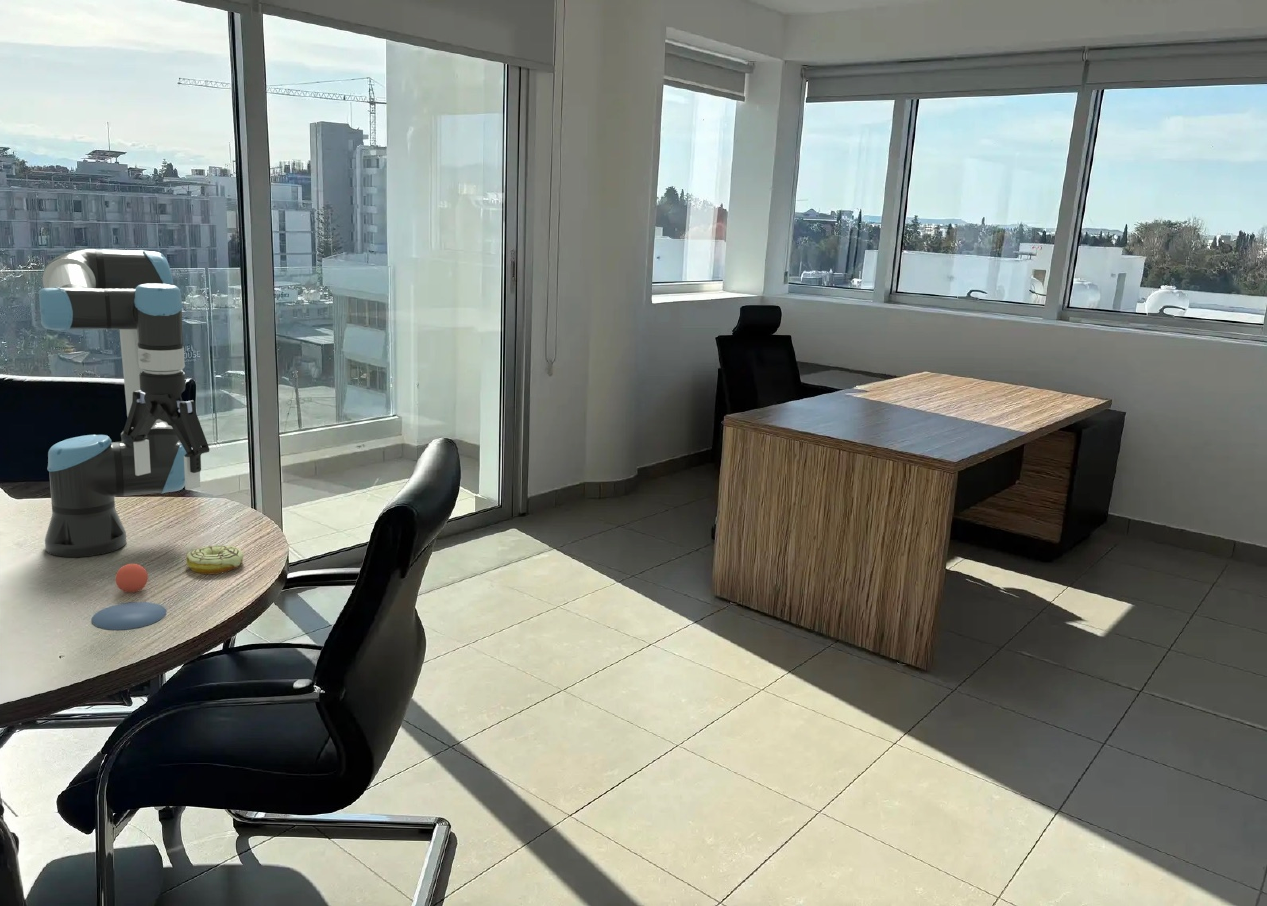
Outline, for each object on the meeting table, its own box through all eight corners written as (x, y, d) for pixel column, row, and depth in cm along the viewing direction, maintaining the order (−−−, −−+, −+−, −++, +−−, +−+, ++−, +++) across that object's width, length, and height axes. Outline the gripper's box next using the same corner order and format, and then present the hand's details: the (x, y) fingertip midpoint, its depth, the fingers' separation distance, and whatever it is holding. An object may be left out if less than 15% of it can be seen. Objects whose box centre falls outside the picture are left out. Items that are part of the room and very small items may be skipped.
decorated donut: (249, 571, 200) (248, 554, 199) (193, 580, 194) (192, 562, 193) (235, 555, 208) (235, 539, 207) (181, 563, 202) (181, 546, 201)
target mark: (85, 611, 176) (85, 610, 176) (156, 598, 183) (156, 597, 183) (99, 635, 167) (99, 634, 167) (174, 620, 174) (174, 619, 174)
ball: (113, 589, 186) (111, 562, 185) (144, 584, 189) (142, 557, 188) (120, 599, 182) (118, 571, 181) (151, 593, 185) (150, 566, 184)
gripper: (97, 362, 179) (105, 472, 185) (192, 383, 169) (197, 499, 174) (134, 357, 186) (140, 464, 191) (227, 377, 175) (231, 489, 181)
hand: (167, 481), depth 183 cm, fingers open, 13 cm apart
